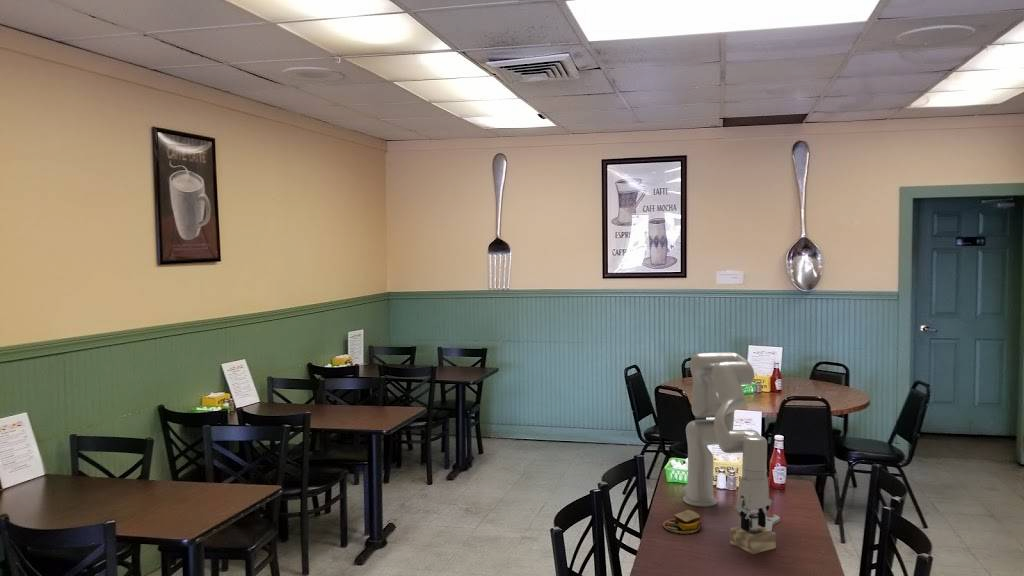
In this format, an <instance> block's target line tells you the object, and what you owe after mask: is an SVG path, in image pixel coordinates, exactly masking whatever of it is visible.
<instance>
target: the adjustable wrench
mask: <svg viewBox="0 0 1024 576" xmlns="http://www.w3.org/2000/svg"><path fill="white" fill-rule="evenodd" d="M780 521H781V518H780V516H779V515H777V514H772V517H768V516H767V515H766V523H765V527H764V528H765V529H767V530H770V531H772V532H773V526H774V525H776V524H778V523H780Z"/></svg>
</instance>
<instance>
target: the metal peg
mask: <svg viewBox="0 0 1024 576" xmlns="http://www.w3.org/2000/svg"><path fill="white" fill-rule="evenodd" d="M758 513H759V512H752V511H750V514H749V517H748V519H750V530H749V531H748V533H751V534H753V535H754V534H758V526H759V525H758V518H759V515H758Z"/></svg>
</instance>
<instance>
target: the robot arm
mask: <svg viewBox="0 0 1024 576" xmlns="http://www.w3.org/2000/svg"><path fill="white" fill-rule="evenodd" d="M689 368H690V374H691V377H692V391H691V393H692V394H691V412H692V414H693V415H694V416H695V417H697V418H703V419H694V420H691V421H690V422H688V423H687V425H686V427H685V434H686V435H685V436H686V441H687V484H685V485H684V486H683V487H682V489H681V491H683V492H685V495H684V496H683V497H682V499H683V502H684V503H686V504H687V505H690V506H695V507H713V506H715V505H717V503H718V499H717V498H716V497H715V496H714V455H713V453H712V451H711V450H710V449H709V448H708V446H712V445H713V446H716V445H718V447H719V449H720V450H721V451H722V452H723V453H726V454H740V453H741V454H742V464H741V465H742V470H741V472H742V474H741V476H742V477H740V479H739V482H738V489H737V501H736V505H735V506H734V510H735V512H737V514H738V516H739V517H740V526H741V529H743V530H746V531H749V530H750V519H748V517H749V514H750V512H752V511H754V510H757V511H758V512H757V513H758V515H759V518H758V526H760V527H763V528H765V525H766V524H765V523H766V516H767V515H768V510H770V507H771V505H772V503H773V500H772V498H770V497H769V496H770V494H769V493H770V492H769V481H768V478H767V473H768V469H767V468H768V467H767V461H768V440H767V439H766V438H765V436H761V435H760V433H759V431H757V430H754V429H734V422H735V420H734V419H735V411H736V410H738V409H741V408H742V407H743V406H745V403H746V397H745V394H744V391H743V388H742V387H743V385H745V386H746V385H748V386H749V385H751V384H752V383H754V380H755V371H754V367H753V366H752V364H751V363H750V362H749V361H748V360H747V359H746V358H745V357H743V356H741V355H740V353H737V352H732V351H731V352H729V351H728V352H727V351H726V352H725V351H724V352H723V351H722V352H719V351H718V352H717V351H716V352H715V351H714V352H713V351H712V352H709V351H708V352H698V353H695V354H694V355H692V356H691V358H690V363H689ZM705 418H706V419H705ZM707 418H710V419H707ZM711 418H714V419H711Z"/></svg>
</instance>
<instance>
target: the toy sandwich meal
mask: <svg viewBox="0 0 1024 576" xmlns="http://www.w3.org/2000/svg"><path fill="white" fill-rule="evenodd" d="M673 517H674V518H672V519H667V520H665V521H663V523H662V525H663V527H664V528H665V529H666V530H667V531H668V530H669V532H670V531H671V533H673V532H674V534H678V533H680V534H679V535H690V534H689V533H691V534H695V533H696V532H698V531H699V530H700V527H701V526H700V525H702V521H701V515H700V514H699V513H697V512H696V511H694V510H691V509H685V510H684V511H681V512H678V513H676V514H673ZM694 532H695V533H694Z"/></svg>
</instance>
